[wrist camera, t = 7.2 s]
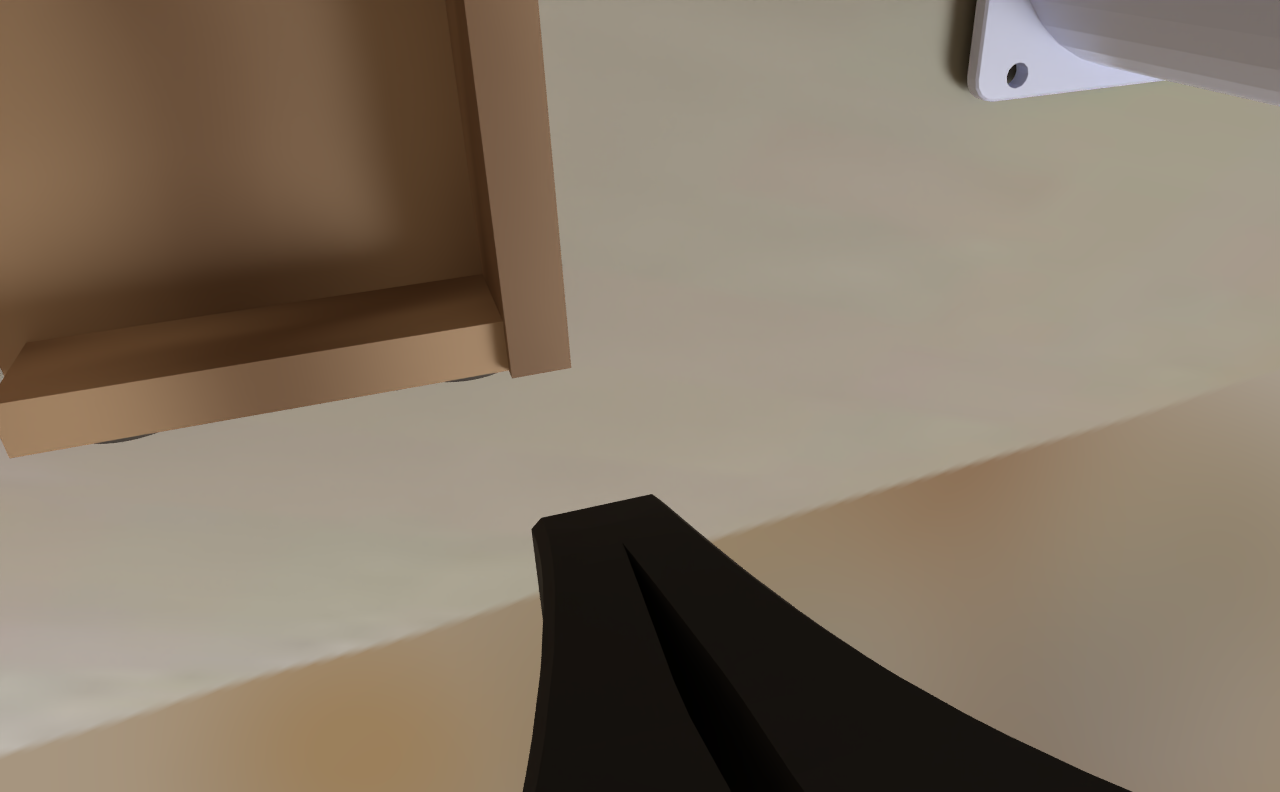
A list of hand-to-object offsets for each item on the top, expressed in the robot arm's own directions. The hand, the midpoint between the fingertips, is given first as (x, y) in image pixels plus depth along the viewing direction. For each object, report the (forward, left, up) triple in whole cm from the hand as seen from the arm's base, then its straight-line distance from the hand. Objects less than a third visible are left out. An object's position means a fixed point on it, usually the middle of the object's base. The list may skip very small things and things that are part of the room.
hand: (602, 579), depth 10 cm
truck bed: (+4, -4, -10) cm, 12 cm away
